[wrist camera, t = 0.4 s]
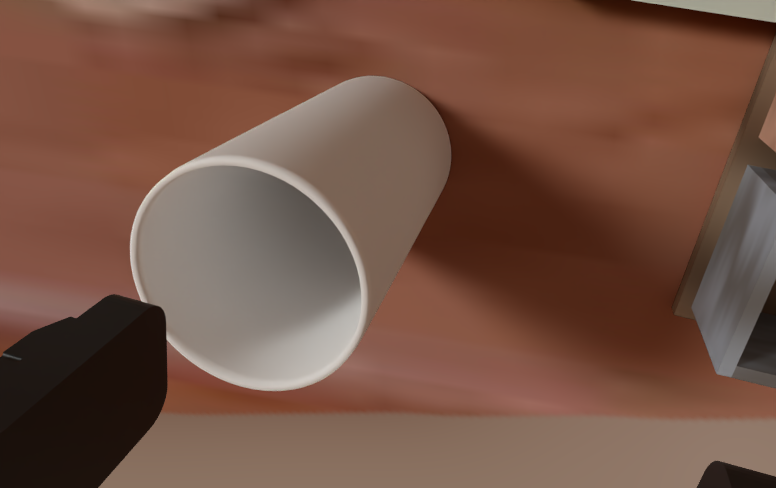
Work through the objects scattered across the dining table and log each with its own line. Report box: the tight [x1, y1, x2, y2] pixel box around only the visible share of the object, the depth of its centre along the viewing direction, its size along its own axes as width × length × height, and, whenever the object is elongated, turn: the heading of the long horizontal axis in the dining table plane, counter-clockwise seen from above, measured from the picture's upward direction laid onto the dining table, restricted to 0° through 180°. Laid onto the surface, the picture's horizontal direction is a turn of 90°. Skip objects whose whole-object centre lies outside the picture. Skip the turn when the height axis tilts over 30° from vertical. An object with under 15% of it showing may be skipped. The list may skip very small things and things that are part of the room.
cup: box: [130, 76, 451, 391], centre depth 27 cm, size 8×8×16 cm
